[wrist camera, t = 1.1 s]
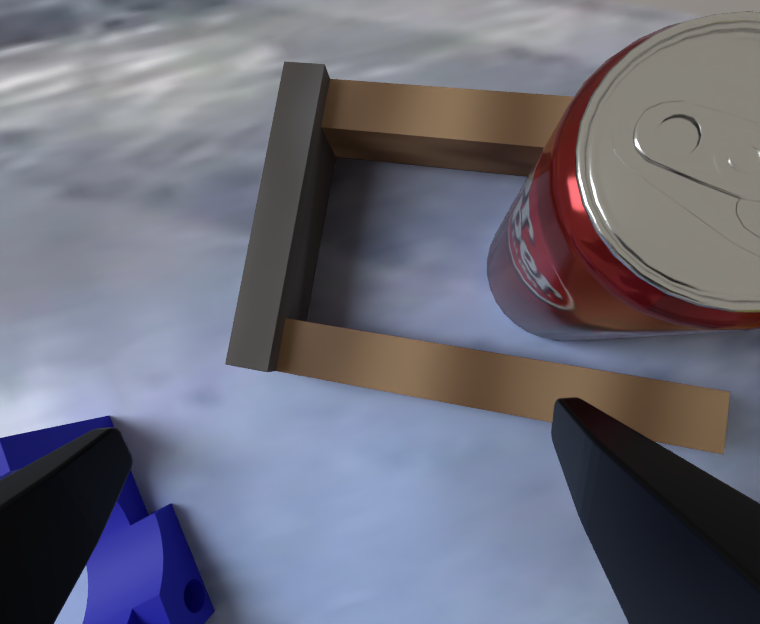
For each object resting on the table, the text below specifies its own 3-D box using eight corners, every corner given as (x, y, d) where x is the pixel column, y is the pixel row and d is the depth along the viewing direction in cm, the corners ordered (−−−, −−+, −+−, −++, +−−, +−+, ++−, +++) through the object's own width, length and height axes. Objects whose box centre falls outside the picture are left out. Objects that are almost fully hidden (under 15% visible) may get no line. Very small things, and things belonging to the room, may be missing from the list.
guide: (708, 146, 20) (779, 95, 16) (677, 437, 19) (743, 461, 15) (309, 111, 23) (284, 61, 19) (262, 361, 22) (225, 364, 18)
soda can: (660, 240, 20) (1017, 71, 8) (591, 367, 19) (846, 397, 8) (525, 178, 21) (654, -52, 9) (459, 298, 20) (499, 229, 9)
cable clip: (216, 608, 21) (131, 711, 15) (145, 643, 21) (34, 758, 15) (133, 403, 23) (27, 422, 17) (69, 438, 23) (-58, 469, 17)
